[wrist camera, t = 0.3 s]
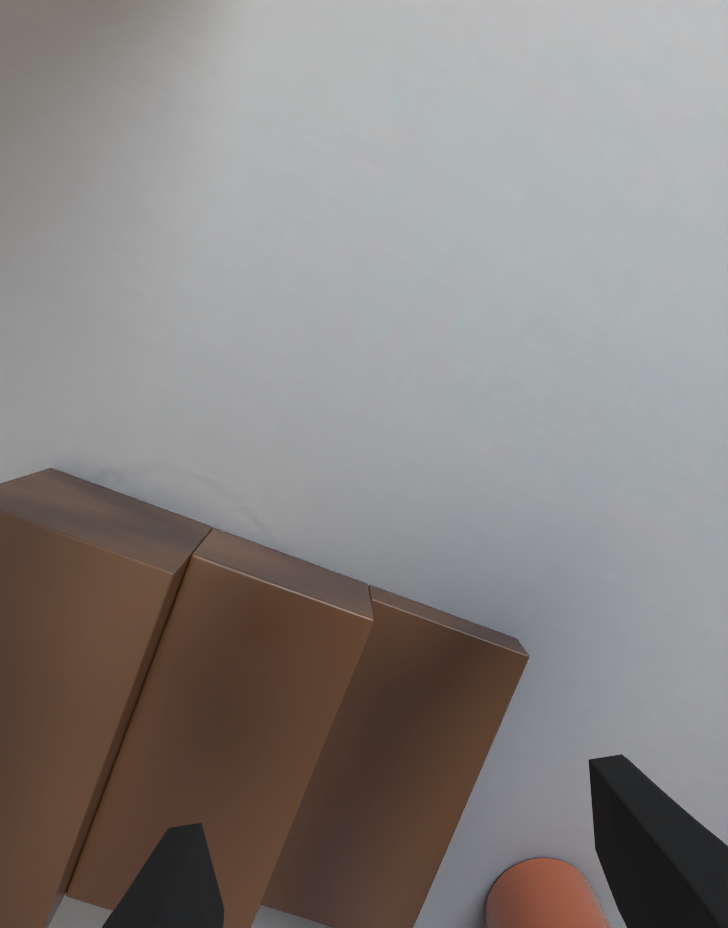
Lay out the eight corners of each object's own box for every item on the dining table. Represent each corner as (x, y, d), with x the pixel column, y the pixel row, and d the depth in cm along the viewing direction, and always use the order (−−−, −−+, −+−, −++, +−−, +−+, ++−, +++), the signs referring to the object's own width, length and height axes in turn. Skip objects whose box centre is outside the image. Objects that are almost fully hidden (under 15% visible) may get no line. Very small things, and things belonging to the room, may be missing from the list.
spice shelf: (518, 638, 23) (574, 716, 18) (399, 916, 24) (419, 1070, 19) (50, 467, 22) (-43, 495, 16) (-54, 770, 23) (-175, 890, 17)
